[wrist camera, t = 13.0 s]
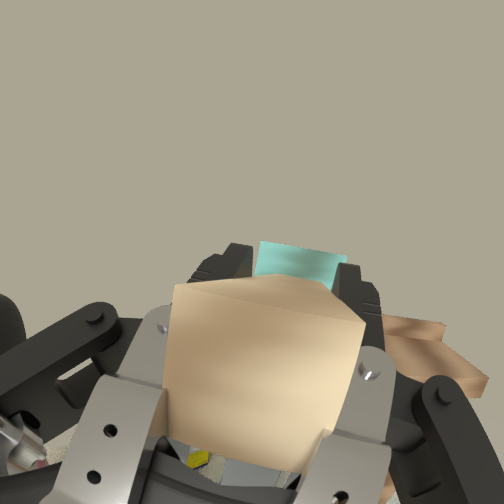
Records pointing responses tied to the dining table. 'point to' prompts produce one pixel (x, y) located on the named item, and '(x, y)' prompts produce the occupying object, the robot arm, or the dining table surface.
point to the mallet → (261, 359)
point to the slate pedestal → (248, 474)
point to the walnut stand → (426, 362)
